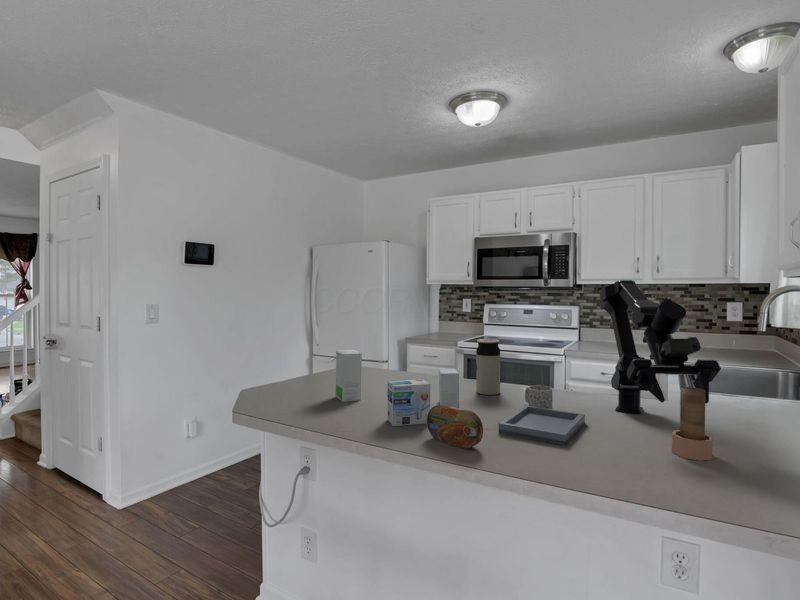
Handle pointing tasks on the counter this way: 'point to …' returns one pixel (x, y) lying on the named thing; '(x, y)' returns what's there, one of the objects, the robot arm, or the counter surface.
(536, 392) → the mug
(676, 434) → the terracotta cup
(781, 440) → the counter surface
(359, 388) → the skincare box
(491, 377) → the travel mug
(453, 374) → the small box
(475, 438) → the tin
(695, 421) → the walnut dowel
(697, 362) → the robot arm
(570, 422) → the slate tray
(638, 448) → the counter surface
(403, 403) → the light bulb box
